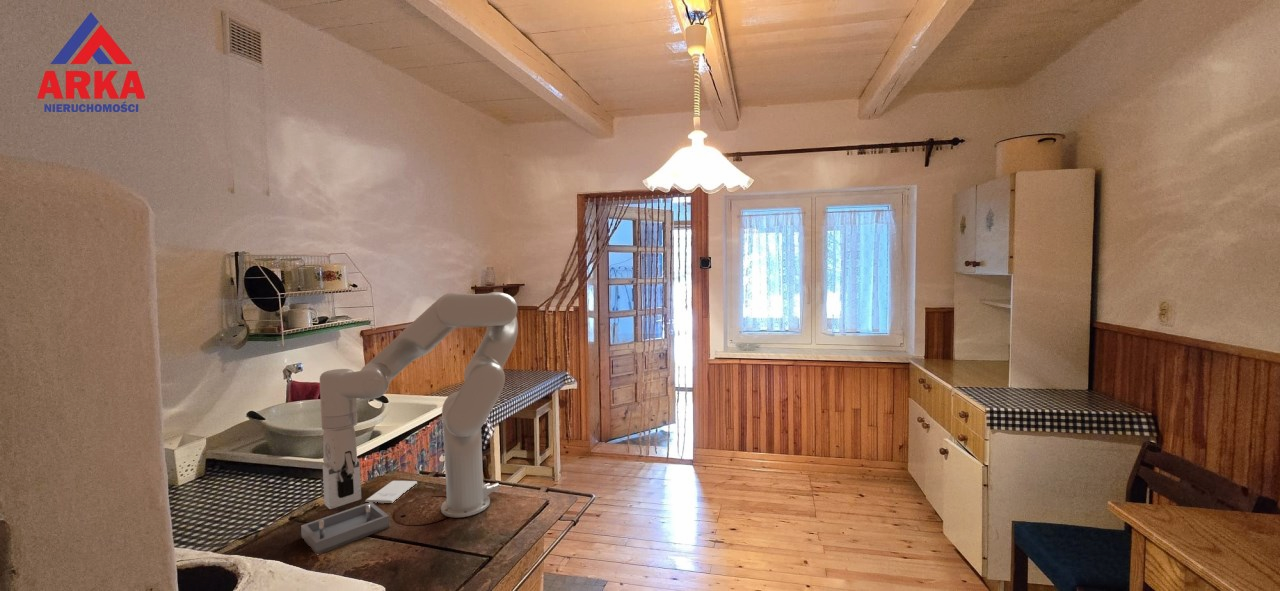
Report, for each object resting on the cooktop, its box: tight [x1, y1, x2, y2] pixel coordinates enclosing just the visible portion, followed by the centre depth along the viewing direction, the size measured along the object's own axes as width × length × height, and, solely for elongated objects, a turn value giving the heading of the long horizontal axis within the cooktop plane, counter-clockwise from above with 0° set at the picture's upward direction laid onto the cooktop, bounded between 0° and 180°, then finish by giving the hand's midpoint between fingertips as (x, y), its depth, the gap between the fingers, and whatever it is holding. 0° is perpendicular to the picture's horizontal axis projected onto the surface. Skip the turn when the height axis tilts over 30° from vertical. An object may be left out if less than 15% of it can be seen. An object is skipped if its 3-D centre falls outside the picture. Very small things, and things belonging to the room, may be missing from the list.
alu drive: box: [322, 457, 362, 510], centre depth 123 cm, size 7×4×10 cm, turn 138°
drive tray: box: [300, 502, 391, 556], centre depth 124 cm, size 16×12×5 cm
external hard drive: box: [364, 480, 418, 504], centre depth 145 cm, size 2×8×12 cm
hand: (342, 492), depth 123 cm, fingers closed on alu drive, 4 cm apart
